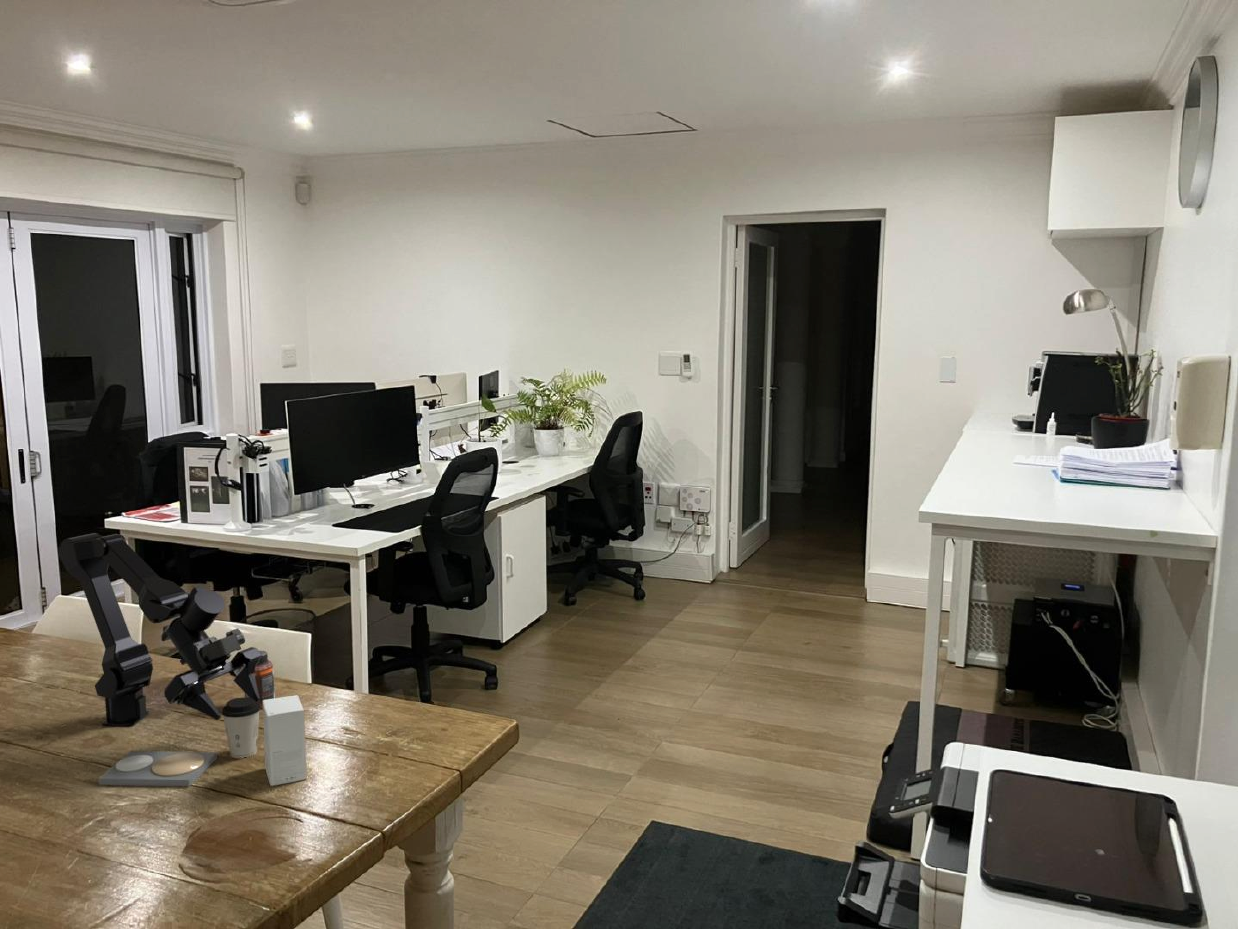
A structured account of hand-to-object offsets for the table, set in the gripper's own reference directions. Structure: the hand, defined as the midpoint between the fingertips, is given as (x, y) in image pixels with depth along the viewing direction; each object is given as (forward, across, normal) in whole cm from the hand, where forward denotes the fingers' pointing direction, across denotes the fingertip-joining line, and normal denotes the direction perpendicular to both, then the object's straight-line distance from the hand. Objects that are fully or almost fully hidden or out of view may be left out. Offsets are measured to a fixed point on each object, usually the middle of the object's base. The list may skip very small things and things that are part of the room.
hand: (239, 709), depth 181 cm
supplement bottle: (-4, +18, +16) cm, 25 cm away
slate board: (+1, -12, +11) cm, 16 cm away
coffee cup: (+6, 0, +6) cm, 9 cm away
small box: (+16, -3, -4) cm, 17 cm away
